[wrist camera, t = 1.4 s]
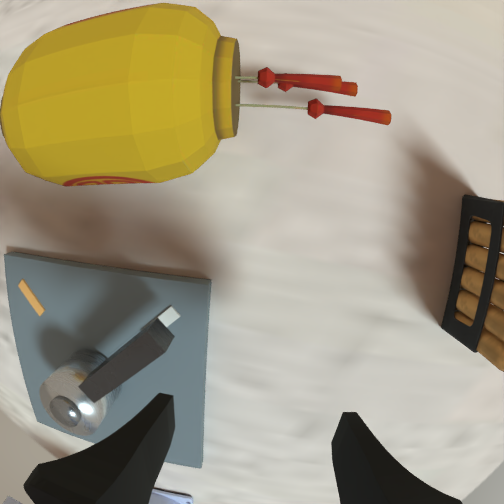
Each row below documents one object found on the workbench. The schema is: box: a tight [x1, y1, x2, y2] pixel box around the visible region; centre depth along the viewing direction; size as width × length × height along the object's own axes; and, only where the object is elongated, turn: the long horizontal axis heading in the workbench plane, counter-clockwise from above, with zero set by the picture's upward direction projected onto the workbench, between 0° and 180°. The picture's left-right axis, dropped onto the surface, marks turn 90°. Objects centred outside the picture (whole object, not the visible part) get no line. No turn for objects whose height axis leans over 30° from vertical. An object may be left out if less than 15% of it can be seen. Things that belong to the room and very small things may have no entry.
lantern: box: [0, 3, 391, 186], centre depth 15 cm, size 10×10×30 cm
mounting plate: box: [4, 252, 211, 468], centre depth 23 cm, size 18×18×1 cm
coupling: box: [39, 318, 175, 436], centre depth 19 cm, size 12×5×5 cm, turn 129°
